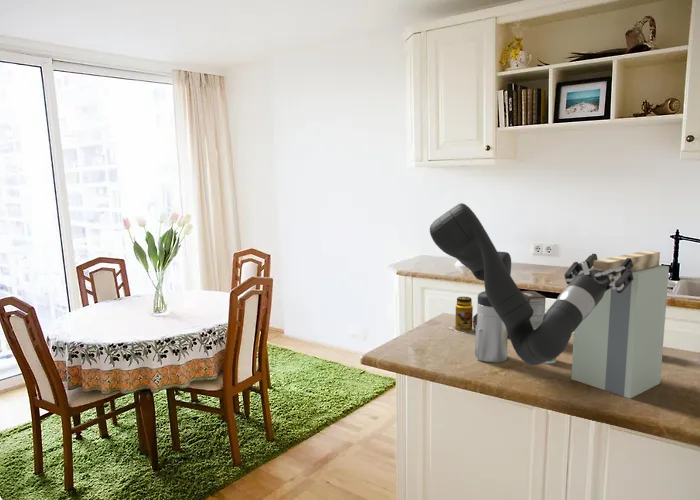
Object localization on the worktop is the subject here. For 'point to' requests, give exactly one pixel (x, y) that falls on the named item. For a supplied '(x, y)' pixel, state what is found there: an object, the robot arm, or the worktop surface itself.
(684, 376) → the worktop surface
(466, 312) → the condiment
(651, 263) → the beech rod
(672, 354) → the worktop surface
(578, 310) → the robot arm
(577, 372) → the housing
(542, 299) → the coffee box
